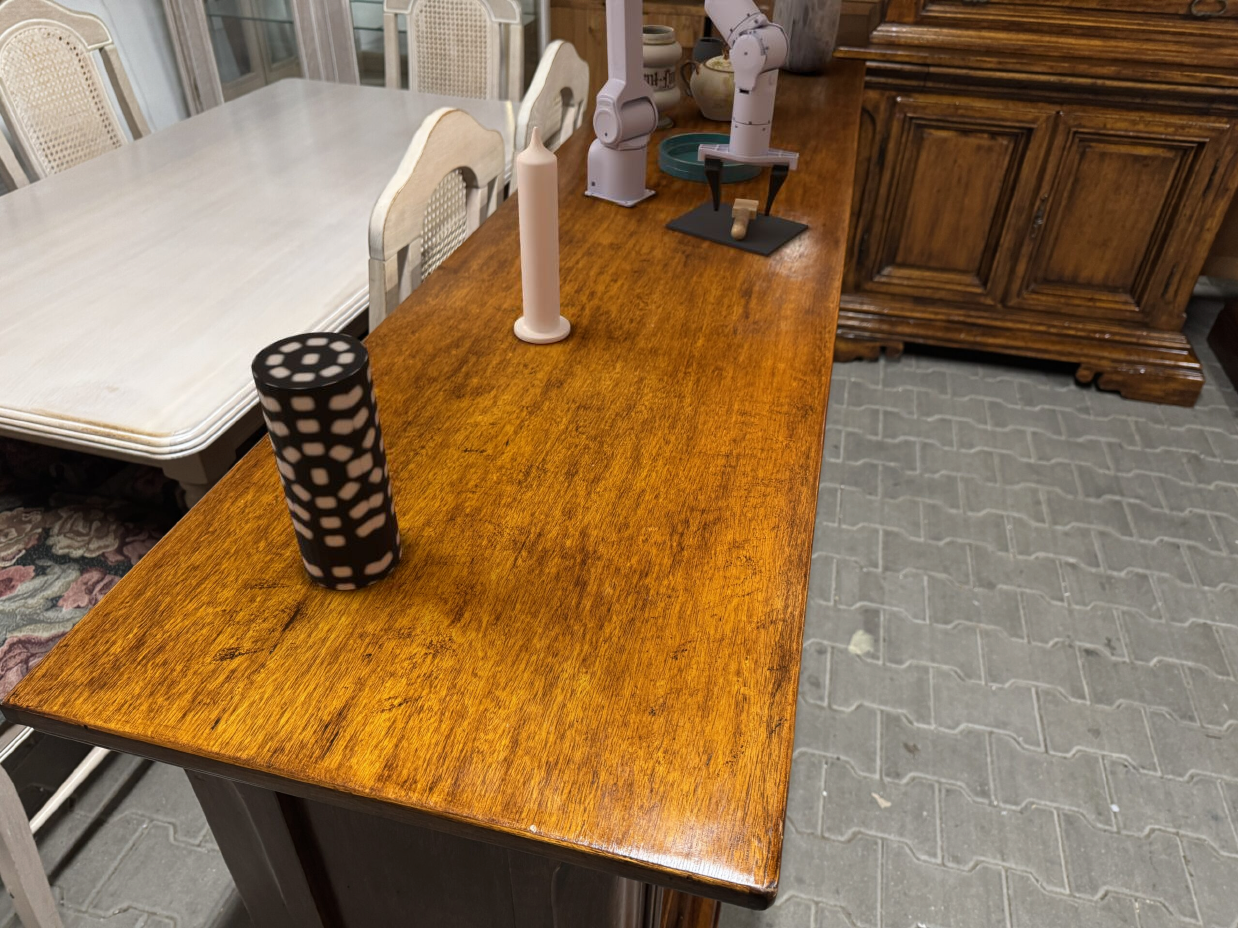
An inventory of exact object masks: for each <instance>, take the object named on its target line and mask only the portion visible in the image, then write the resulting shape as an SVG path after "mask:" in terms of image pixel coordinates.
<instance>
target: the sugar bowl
mask: <svg viewBox="0 0 1238 928" xmlns="http://www.w3.org/2000/svg"><path fill="white" fill-rule="evenodd" d="M728 46H729V45H728V43H727V42H726V41H725V42H724V43H723V46H722V53H723V56H718V57H714V58H712V59H707V60H705V61H703V62H702V64H701V63H699V62H696V61H694V60H692V59H686V60H685V61H683V63H681V65H680V68H679V74H680V77H681V79H682V81H683V82H684V84H685V86H686V88H688V89H689V92H690V94H691V95H690V96H691V97H692V98H694V100H695V102H696V104H697V106H698V107H699V109H700V112H701V114H702V115H703V116H704V118H707V119H710V120H713V121H719V122H720V121H722V122H732V115H733V105H734V95H735V82H734V76H735V73H734V69H733V67H732V64H731V61H730V56H729V52H727V48H728ZM692 65H693V66H694V67H695V71H694V72H693V74H692V73H691V75H690V80H688V78H687V77H686V75H685V69H686V67H687V66H692Z"/></svg>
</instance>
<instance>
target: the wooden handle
mask: <svg viewBox="0 0 1238 928" xmlns="http://www.w3.org/2000/svg"><path fill="white" fill-rule="evenodd" d="M759 202H760V200H755V199H746V198H744V199H743V198H735V200H734V203H733V205H734V206H733V210H732V217H733V218H735V221H734V224H733V227H732V230H731V235H732V237H733V238H734V239H736V240H741V239H743V238H744V236H745V234H746V230H747V227H748V223H749V219H752V220H755V219H756V215H757V212H759V211H758V210H759V205H760V204H759Z"/></svg>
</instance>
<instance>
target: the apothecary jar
mask: <svg viewBox="0 0 1238 928" xmlns="http://www.w3.org/2000/svg"><path fill="white" fill-rule="evenodd" d="M675 33H676V32H675V29H674V28H673V27H670V26H667V25H659V24H658V25H657V24H649V25H647V24H646V25H643V79H644V80H645V81H646V82H647V83H648V84H649V85H650V86H651V87H652V89H653V97H654V103H655V106H656V109H657V112H658V123H657V126H656V129H660V128H661V129H662V128H666V129H668V128H669V129H670V128H672V127H673V125H674V121H673V119H672V118H670V117H668V116H666V115H665V114H663V113H662V112H666V111H669V110H671V109H673V108H674V107H676V105H678V103H679V102H680V101H681V96H682V95H681V91H680V89H679V87H678V85H676V63H677V62H678V61H680V59H681V58H682V55H683V48H682V46H681V44H680V43H679V42H678V40H676V35H675Z"/></svg>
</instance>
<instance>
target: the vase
mask: <svg viewBox="0 0 1238 928" xmlns="http://www.w3.org/2000/svg"><path fill="white" fill-rule="evenodd" d="M842 2H843V0H775V1H774V6H773V15H772V22H771V23H775V24H778V25H780V26H781V27H783V28H784V31H785V33H786V35H787V37H788V41H789V54H788V57H787V59H786V61H785V63H784V64H783V65H782V66H780V67H779V68H781V69H783V70H785V71H788V72H791V73H795V74H807V73H813V72H816V71H819V70H820V69H822V68H824V67H825V66H827V64H828V63H829V61H830V59H831V57H832V55H833V51H834V48H835V44H836V40H837V36H838V30H839V25H840V19H841V18H840V17H841V11H842Z"/></svg>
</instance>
